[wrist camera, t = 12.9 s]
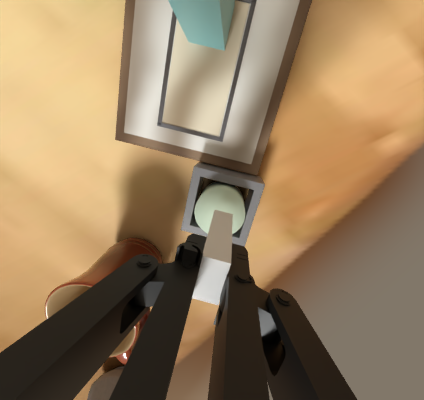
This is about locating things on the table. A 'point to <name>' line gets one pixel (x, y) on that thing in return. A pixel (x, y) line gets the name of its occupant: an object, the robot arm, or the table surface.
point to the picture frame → (206, 81)
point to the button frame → (230, 177)
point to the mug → (95, 274)
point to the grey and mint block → (205, 20)
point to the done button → (220, 205)
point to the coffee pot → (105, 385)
